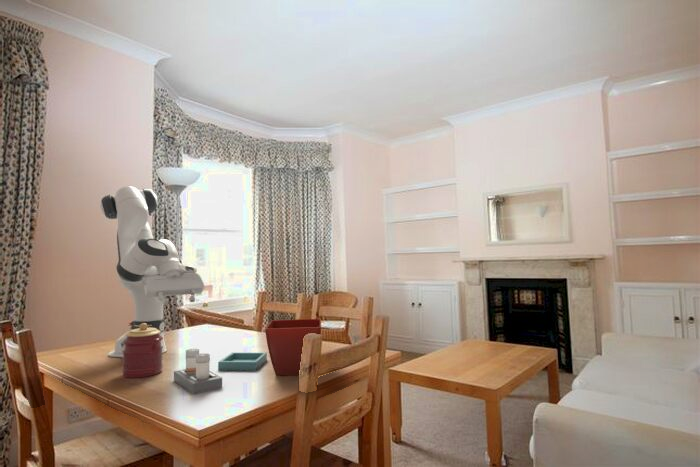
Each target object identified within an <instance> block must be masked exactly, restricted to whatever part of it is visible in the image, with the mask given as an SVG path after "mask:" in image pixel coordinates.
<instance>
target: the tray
mask: <svg viewBox="0 0 700 467" xmlns="http://www.w3.org/2000/svg"><path fill="white" fill-rule="evenodd" d="M267 361H268V352H231V353H229V354H227V355H226V356H225V357H223V358H222V359H220V360H219V361H218V362H217V364H218V365H217V371H242V372H243V371H254V372H256V371H258V370H259V368H261V366H263V364H265V363H266V362H267Z"/></svg>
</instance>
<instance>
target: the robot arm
mask: <svg viewBox="0 0 700 467" xmlns="http://www.w3.org/2000/svg"><path fill="white" fill-rule="evenodd" d="M157 207H158V197H157V194H155V192H154V191H153V190H152V189H151V188H142V189H137V187H134V186H130V185H128V186H122V187H121V188H119V189H117V191H116V193H115V194H107V195H105V196H104V197H102V198H101V202H100V210H101V212H102V214H103V215H104V216H105V218H107V219H109V220H117V232H116V241H117V242H116V243H117V254H118V255H117V256H118V262H117V264H116V272H117V279H118V282H119V284H120V286H122V287H123V288H124V289H126V290H127V291H128V292H129V293H130V295H131V297H132V300H133V305H134V320H132V321H131V322H129V323H127V324H128V325H127V326H128V327H130V329H129V330H128V331H126V332H125V333H124V334H122V335H121V336H120V337H118V339H117V340H116V341H115V344H114V349H113V350H111V351H109V353H108V354H107V356H108V357H114V358H123V352H122V351H123V350H124V344H123V340H125V339H126V337H127V336H125V334H126V333H128V332H130V330H133V329H138V328H139V326H140V324H142V323H146V324H147V326H148V327H147V328H156V329H157V330H160V331H161V333H159V334H160V336H162V337H163V340H162V341H161V342H162V346H163V349H162V354H164V353H166V352H167V347H166V343H165V338H164V337H165V336H164V331H165V318H164V305H168V304H169V300H168V296H170V297H171V296H185V295H190V296H189V299H188V300H189V303H195V302H196V297H195V295H197V294H202V293H203V291H204V288H205V284H204V281H203V279H202V277H201V275H200V274H199V273H197V272H198V271H197V268H196V267H195V266H190V265H186V264H185V265H184V264H183V263H181V262H180V255H179V252H178V250H177V248H176V245H174V243H173V242H172V241H170V240H169V239H164V238H163V239H155V238H154V236H153V232H152V230H151V226H150V224H149V222H148V221H149V217H151V216H152V214H153V213H154V212H155V210H156V209H157Z"/></svg>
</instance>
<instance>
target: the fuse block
mask: <svg viewBox="0 0 700 467" xmlns="http://www.w3.org/2000/svg"><path fill="white" fill-rule="evenodd" d="M173 381H174V382H176V383H177V384H178V385H180V386H181V387H183V388H184V389H185V390H187V392H189V393H191V394H192V395H195V394H200V393H204V392H209V391H213V390H216V389H217V390H218V389H221V388H223V377H222V376H220V375H218V374H217V373H214V372H212V371H211V370H209V379H205V380H200V381H197V379H196V373H193V374H188V375H187V373H186V368H183V369H179V370H174V371H173Z"/></svg>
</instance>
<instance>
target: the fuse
mask: <svg viewBox="0 0 700 467" xmlns="http://www.w3.org/2000/svg"><path fill="white" fill-rule="evenodd" d="M210 361H211V354H210V353H208V352H207V353H199V354H198V355H196V379H197V381H200V380H205V379H209V371H210Z"/></svg>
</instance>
